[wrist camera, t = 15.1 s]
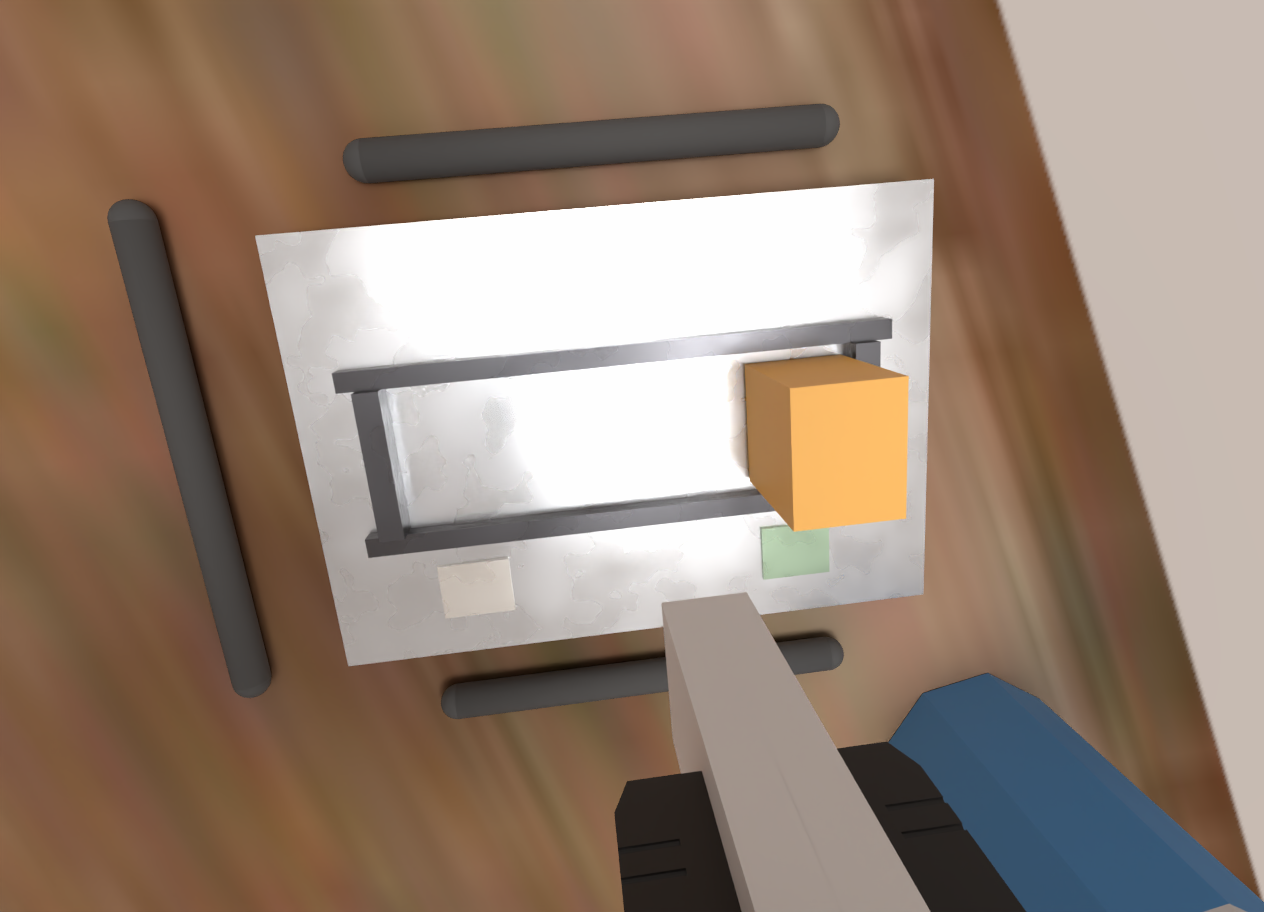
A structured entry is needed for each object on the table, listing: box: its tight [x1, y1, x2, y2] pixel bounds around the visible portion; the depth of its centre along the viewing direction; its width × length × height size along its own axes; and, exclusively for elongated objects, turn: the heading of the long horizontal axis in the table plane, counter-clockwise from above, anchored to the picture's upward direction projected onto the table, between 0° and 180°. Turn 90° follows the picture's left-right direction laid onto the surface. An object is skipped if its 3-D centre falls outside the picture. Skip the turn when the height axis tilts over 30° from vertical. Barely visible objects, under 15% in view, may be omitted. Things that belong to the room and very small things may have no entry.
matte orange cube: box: [745, 354, 909, 532], centre depth 27 cm, size 4×5×6 cm
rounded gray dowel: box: [108, 199, 272, 698], centre depth 30 cm, size 22×2×2 cm, turn 5°
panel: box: [255, 179, 934, 666], centre depth 30 cm, size 26×18×4 cm
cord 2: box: [441, 637, 844, 719], centre depth 34 cm, size 20×2×2 cm, turn 95°
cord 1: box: [343, 104, 840, 183], centre depth 28 cm, size 20×2×2 cm, turn 95°
